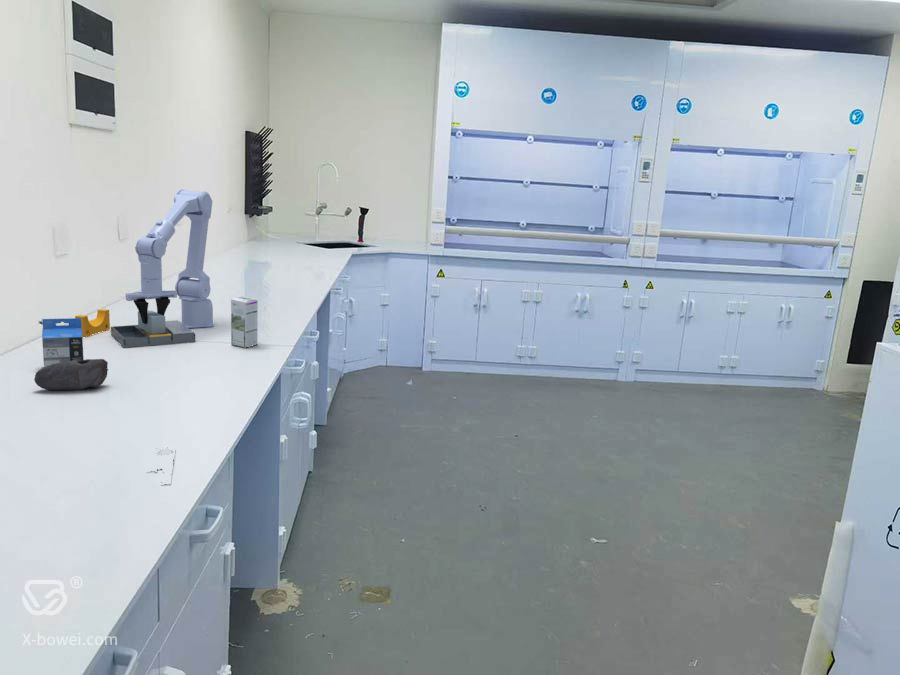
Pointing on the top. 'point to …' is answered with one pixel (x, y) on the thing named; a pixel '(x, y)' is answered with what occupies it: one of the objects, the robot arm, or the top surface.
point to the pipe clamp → (95, 323)
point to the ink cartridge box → (62, 341)
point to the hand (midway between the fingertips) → (152, 322)
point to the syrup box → (244, 321)
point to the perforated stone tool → (72, 375)
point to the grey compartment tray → (152, 335)
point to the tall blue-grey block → (153, 323)
